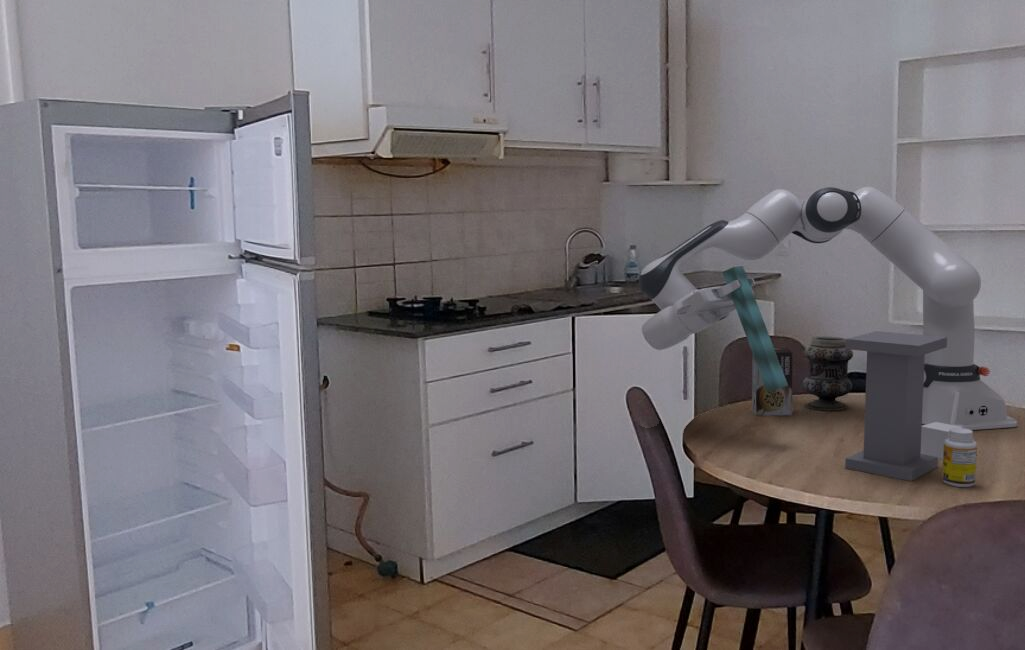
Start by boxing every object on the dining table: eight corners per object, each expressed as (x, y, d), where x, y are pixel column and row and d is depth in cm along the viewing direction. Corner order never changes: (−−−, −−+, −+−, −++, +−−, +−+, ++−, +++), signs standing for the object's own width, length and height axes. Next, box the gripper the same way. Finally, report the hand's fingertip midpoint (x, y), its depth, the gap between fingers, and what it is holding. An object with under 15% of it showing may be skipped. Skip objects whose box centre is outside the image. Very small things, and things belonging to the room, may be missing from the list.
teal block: (722, 272, 203) (733, 267, 201) (731, 270, 206) (742, 265, 204) (767, 392, 198) (778, 388, 196) (776, 389, 201) (788, 385, 199)
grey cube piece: (946, 460, 187) (947, 431, 187) (918, 454, 192) (920, 426, 192) (962, 455, 191) (963, 427, 190) (934, 449, 196) (935, 421, 195)
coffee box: (787, 410, 234) (788, 347, 232) (792, 416, 228) (794, 351, 225) (750, 410, 235) (751, 347, 233) (754, 415, 228) (756, 351, 226)
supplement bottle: (944, 477, 176) (946, 425, 174) (976, 481, 173) (979, 428, 171) (940, 485, 171) (942, 431, 169) (973, 489, 168) (976, 435, 167)
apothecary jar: (859, 406, 237) (862, 337, 235) (838, 414, 229) (840, 342, 226) (815, 399, 246) (817, 333, 243) (793, 407, 237) (795, 338, 235)
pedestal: (841, 468, 183) (845, 338, 179) (871, 454, 192) (876, 331, 189) (913, 482, 173) (918, 345, 169) (941, 466, 183) (947, 337, 179)
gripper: (667, 301, 204) (714, 272, 195) (717, 293, 218) (763, 266, 209) (678, 326, 203) (726, 299, 193) (728, 317, 217) (775, 291, 208)
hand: (746, 282), depth 201 cm, fingers closed on teal block, 4 cm apart
